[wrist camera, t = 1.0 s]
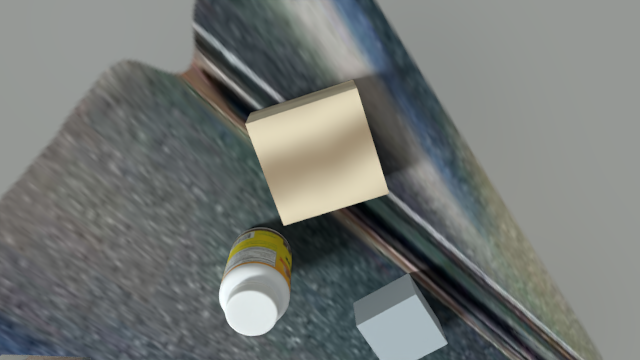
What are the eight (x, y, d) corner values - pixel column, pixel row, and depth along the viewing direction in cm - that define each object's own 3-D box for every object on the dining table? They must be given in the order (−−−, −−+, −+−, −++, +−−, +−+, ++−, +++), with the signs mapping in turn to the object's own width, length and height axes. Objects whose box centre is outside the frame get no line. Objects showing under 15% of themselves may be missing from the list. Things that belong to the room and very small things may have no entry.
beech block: (382, 177, 49) (389, 193, 45) (285, 207, 50) (283, 225, 46) (352, 79, 46) (356, 87, 42) (250, 113, 47) (245, 124, 43)
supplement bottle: (284, 284, 52) (279, 352, 43) (226, 272, 52) (207, 337, 42) (298, 231, 51) (296, 290, 41) (238, 218, 50) (221, 274, 40)
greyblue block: (437, 318, 54) (447, 343, 50) (384, 347, 55) (389, 373, 51) (408, 272, 53) (415, 294, 49) (353, 302, 53) (356, 326, 50)
